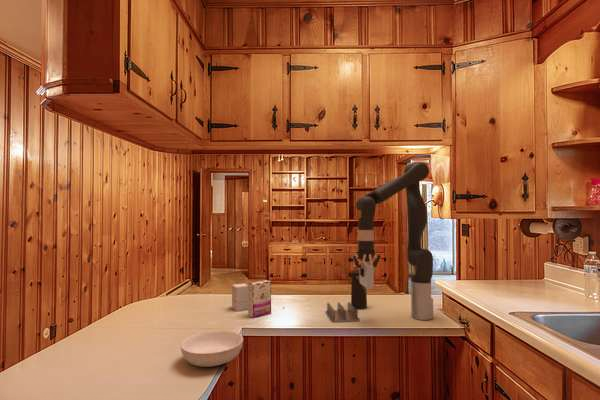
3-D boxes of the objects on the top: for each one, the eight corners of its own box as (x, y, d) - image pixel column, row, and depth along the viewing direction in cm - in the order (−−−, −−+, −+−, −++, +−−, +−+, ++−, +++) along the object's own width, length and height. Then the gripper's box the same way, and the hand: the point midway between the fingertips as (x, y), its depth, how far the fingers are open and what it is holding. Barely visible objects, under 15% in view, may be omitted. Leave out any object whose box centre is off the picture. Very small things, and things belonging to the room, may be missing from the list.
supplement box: (244, 306, 187) (244, 282, 187) (249, 309, 180) (249, 285, 181) (231, 308, 183) (231, 284, 183) (236, 311, 177) (236, 287, 177)
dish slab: (365, 282, 166) (365, 262, 166) (373, 288, 154) (373, 265, 154) (359, 283, 165) (359, 262, 166) (367, 288, 154) (367, 266, 154)
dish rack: (350, 311, 176) (350, 301, 176) (359, 321, 160) (359, 310, 161) (325, 312, 175) (325, 302, 175) (332, 322, 159) (332, 311, 159)
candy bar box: (265, 311, 177) (265, 279, 177) (271, 313, 173) (271, 281, 173) (247, 316, 169) (247, 282, 170) (253, 318, 165) (253, 284, 166)
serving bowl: (189, 349, 128) (189, 330, 129) (245, 347, 130) (245, 329, 130) (172, 376, 108) (172, 353, 108) (239, 373, 109) (239, 351, 109)
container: (363, 310, 178) (363, 271, 179) (347, 308, 183) (347, 270, 183) (369, 306, 185) (369, 269, 186) (354, 304, 190) (353, 268, 191)
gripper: (377, 238, 165) (378, 274, 164) (349, 239, 163) (349, 275, 163) (383, 239, 158) (383, 277, 157) (353, 240, 156) (353, 278, 155)
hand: (366, 276), depth 160 cm, fingers closed on dish slab, 3 cm apart
